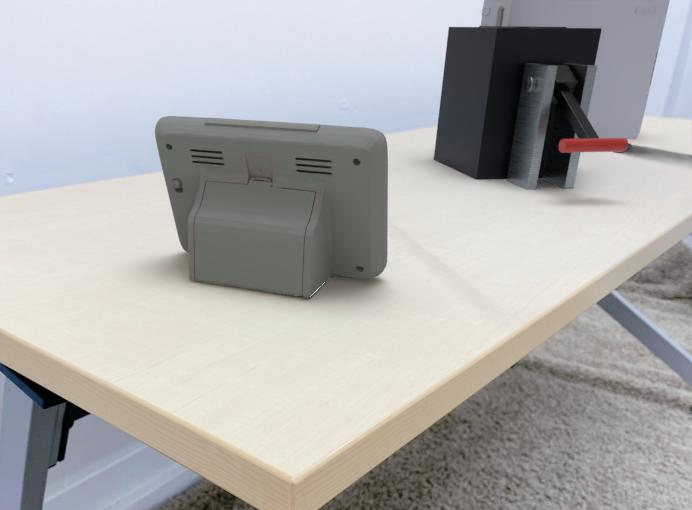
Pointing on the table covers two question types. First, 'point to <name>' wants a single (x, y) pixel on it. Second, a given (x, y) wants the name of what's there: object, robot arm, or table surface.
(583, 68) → the lever bracket
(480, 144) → the toaster
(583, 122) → the toaster lever
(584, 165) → the table surface
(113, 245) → the table surface
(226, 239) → the digital clock
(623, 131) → the game console
